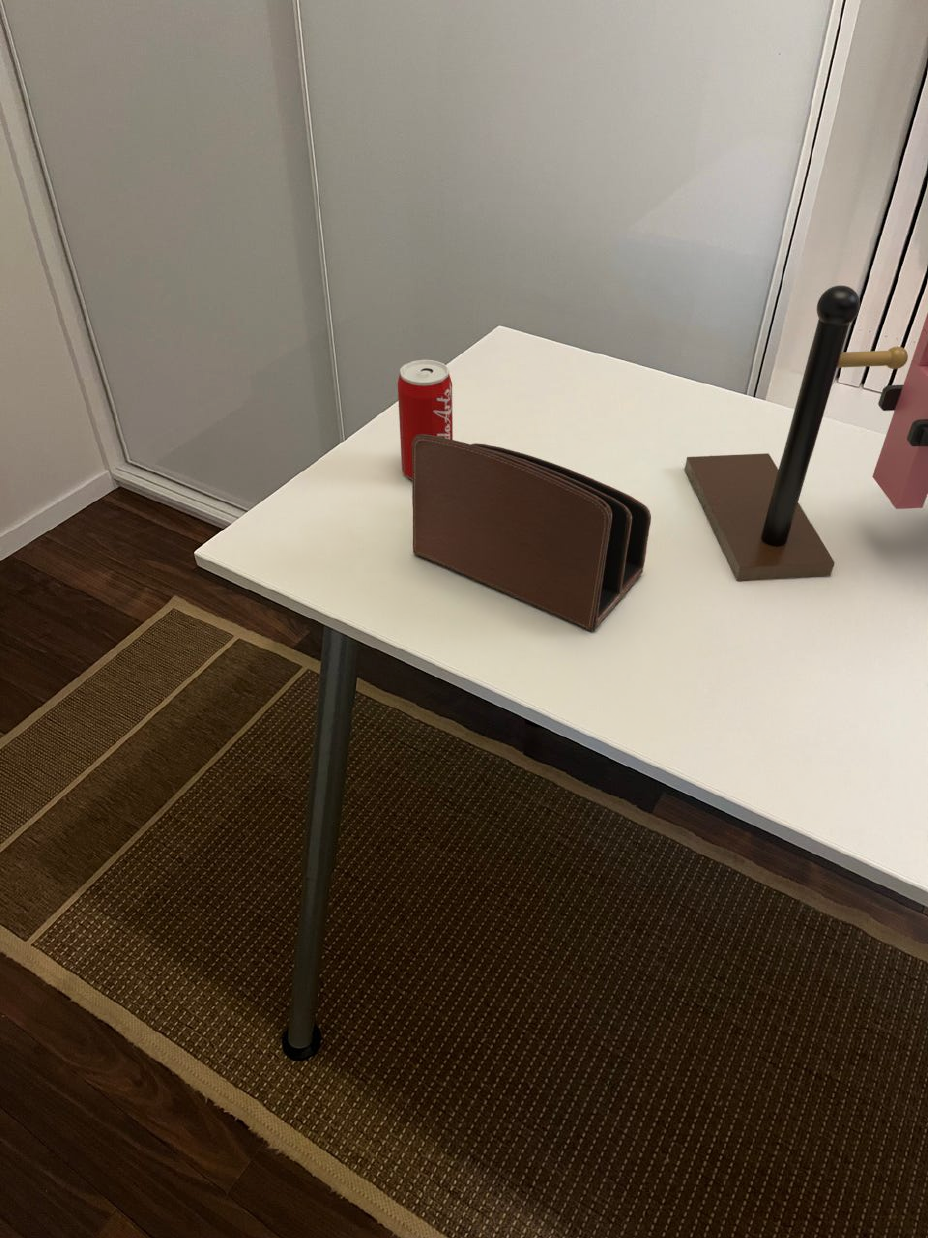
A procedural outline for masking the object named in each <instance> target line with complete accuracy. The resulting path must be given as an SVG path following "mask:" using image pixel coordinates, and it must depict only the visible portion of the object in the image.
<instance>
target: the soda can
mask: <svg viewBox="0 0 928 1238" xmlns="http://www.w3.org/2000/svg"><path fill="white" fill-rule="evenodd" d="M397 397H398V416H399V419H398V420H399V436H400V437H399V439H400V440H399V441H400V453H401V454H400V458H401V459H400V460H401V472H402V473H403V474H404V475H405V476H406V477H407V478H409V479H410V480H413V469H412V443H413V439H414V438H415V436H417V435H420V434H424V435H432V436H437V437H442V438H446V439H451V440H454V433H453V432H454V427H453V426H454V425H453V424H454V423H453V422H454V421H453V420H454V418H453V417H454V416H453V382H452V378H451V374H450V369H449V367H448V366H447V365H446V364H445V363H443V362H440V361H438V360H432V359H418V360H413V361H412V360H411V361H410V362H408V363H405V364H403V366H402V367H401V368H400V369H399V376H398V381H397Z"/></svg>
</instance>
